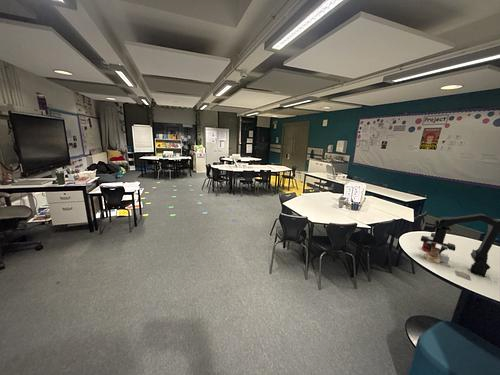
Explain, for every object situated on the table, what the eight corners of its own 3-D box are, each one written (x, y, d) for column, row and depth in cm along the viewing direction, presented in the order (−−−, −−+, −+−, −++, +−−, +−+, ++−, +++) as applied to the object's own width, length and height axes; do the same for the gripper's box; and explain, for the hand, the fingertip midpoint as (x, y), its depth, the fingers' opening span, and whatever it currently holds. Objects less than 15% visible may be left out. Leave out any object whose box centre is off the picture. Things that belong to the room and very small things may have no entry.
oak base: (436, 259, 153) (438, 255, 152) (438, 264, 147) (440, 259, 146) (425, 256, 157) (426, 252, 156) (426, 260, 151) (427, 256, 150)
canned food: (430, 248, 168) (434, 237, 165) (435, 254, 161) (439, 241, 158) (419, 247, 170) (423, 235, 167) (424, 252, 163) (428, 239, 160)
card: (469, 275, 136) (469, 274, 136) (470, 280, 131) (471, 279, 131) (455, 270, 141) (455, 270, 140) (455, 275, 136) (456, 274, 135)
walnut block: (437, 254, 151) (439, 248, 149) (437, 256, 148) (439, 250, 146) (429, 251, 154) (431, 246, 152) (429, 254, 150) (431, 248, 149)
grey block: (445, 260, 153) (447, 254, 151) (447, 263, 149) (449, 257, 147) (437, 258, 155) (439, 252, 153) (439, 261, 151) (441, 255, 149)
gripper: (457, 235, 146) (450, 254, 150) (424, 226, 158) (418, 244, 162) (458, 240, 138) (451, 260, 142) (423, 230, 150) (417, 249, 154)
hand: (434, 253), depth 150 cm, fingers closed on walnut block, 4 cm apart
